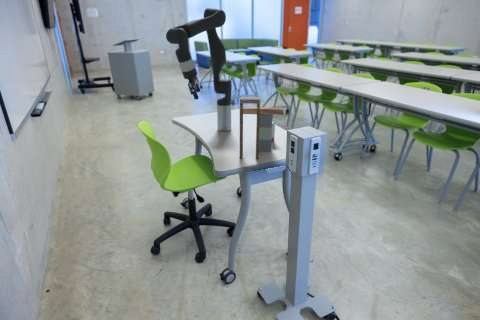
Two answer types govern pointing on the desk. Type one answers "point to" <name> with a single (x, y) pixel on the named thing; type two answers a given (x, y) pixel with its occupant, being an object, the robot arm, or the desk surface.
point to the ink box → (273, 131)
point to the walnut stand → (242, 100)
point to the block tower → (265, 132)
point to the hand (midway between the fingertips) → (197, 95)
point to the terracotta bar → (263, 111)
